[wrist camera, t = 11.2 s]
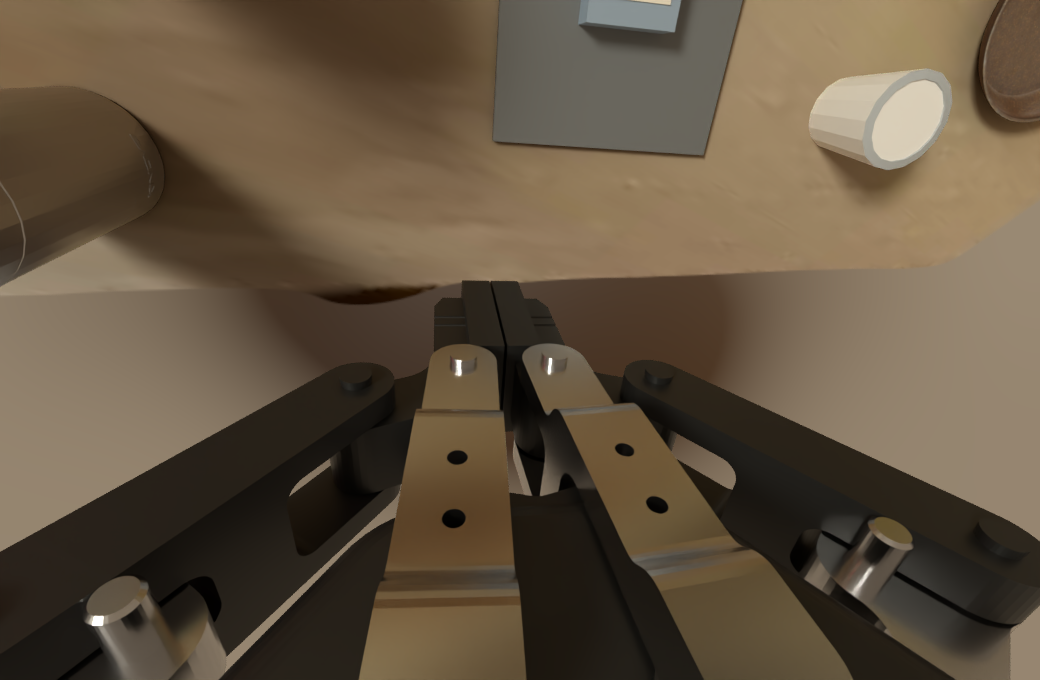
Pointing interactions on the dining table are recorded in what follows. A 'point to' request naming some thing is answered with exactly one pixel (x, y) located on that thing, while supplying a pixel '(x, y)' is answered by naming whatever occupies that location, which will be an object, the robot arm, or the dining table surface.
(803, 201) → the dining table surface
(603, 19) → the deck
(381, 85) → the dining table surface
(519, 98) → the mat
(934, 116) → the white tapered cup
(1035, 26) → the saucer
